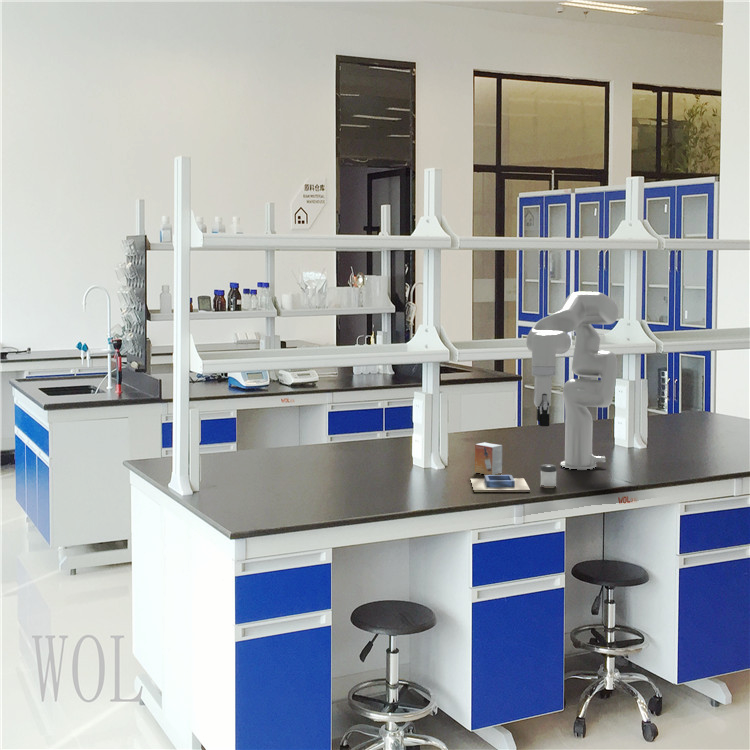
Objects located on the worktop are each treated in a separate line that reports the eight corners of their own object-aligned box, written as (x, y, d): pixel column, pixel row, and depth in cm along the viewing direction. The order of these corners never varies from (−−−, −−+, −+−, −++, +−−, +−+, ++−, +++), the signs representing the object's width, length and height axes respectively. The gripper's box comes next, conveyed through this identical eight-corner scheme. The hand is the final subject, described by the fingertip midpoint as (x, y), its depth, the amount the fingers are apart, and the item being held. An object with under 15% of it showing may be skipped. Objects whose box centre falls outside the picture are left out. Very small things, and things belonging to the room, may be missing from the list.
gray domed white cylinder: (554, 485, 326) (555, 464, 325) (557, 488, 321) (557, 467, 320) (539, 485, 326) (539, 464, 325) (541, 488, 321) (541, 467, 320)
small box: (474, 473, 344) (474, 444, 342) (484, 471, 348) (484, 441, 346) (492, 477, 338) (492, 447, 337) (502, 474, 342) (502, 444, 341)
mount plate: (523, 481, 332) (524, 472, 331) (529, 492, 316) (530, 483, 315) (470, 481, 332) (470, 472, 332) (473, 492, 316) (473, 483, 316)
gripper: (530, 368, 328) (529, 419, 330) (533, 374, 311) (533, 428, 313) (552, 368, 327) (552, 419, 329) (557, 374, 310) (557, 428, 312)
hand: (543, 423), depth 321 cm, fingers open, 9 cm apart
